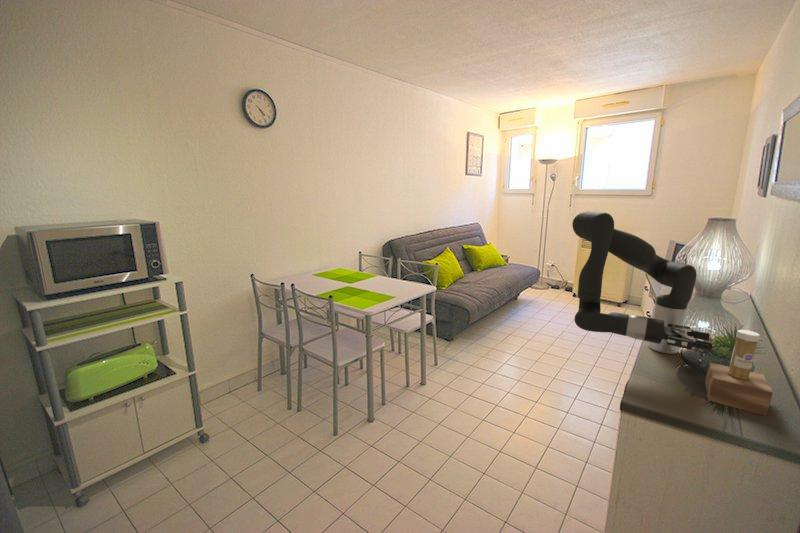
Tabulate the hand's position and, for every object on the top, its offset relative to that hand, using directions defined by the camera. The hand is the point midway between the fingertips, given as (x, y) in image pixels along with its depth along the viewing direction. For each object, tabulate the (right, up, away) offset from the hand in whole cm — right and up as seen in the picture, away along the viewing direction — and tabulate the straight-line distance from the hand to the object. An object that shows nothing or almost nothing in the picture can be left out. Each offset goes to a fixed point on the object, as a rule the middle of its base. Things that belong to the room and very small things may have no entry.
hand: (710, 341), depth 106 cm
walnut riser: (+6, -16, -1) cm, 17 cm away
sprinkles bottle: (+6, -9, -2) cm, 11 cm away
